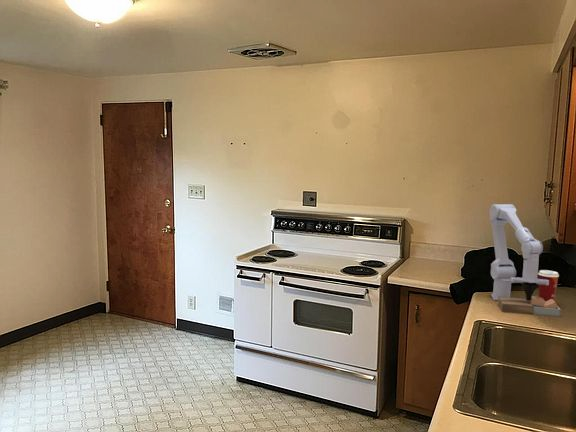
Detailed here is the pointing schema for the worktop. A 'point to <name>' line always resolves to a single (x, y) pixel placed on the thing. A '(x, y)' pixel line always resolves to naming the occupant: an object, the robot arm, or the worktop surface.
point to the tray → (546, 311)
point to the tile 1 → (537, 301)
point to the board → (515, 305)
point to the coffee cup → (548, 290)
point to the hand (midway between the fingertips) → (528, 300)
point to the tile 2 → (550, 304)
